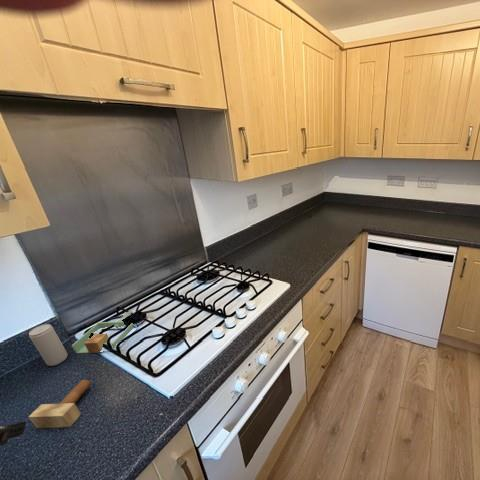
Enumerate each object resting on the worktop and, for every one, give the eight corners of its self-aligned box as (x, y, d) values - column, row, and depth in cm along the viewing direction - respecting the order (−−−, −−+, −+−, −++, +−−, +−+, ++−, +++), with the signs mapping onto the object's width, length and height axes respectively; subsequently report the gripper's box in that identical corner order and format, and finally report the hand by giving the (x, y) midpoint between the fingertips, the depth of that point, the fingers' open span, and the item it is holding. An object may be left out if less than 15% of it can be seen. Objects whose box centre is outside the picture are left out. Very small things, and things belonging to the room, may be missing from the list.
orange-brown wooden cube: (83, 343, 79) (94, 333, 82) (89, 353, 80) (99, 343, 84) (96, 342, 79) (106, 333, 82) (101, 352, 80) (111, 342, 84)
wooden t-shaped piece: (28, 417, 58) (67, 378, 68) (36, 428, 60) (74, 388, 69) (62, 415, 58) (97, 376, 67) (70, 427, 60) (103, 387, 69)
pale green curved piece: (116, 351, 81) (112, 343, 79) (75, 353, 81) (71, 345, 80) (150, 314, 97) (147, 307, 95) (116, 316, 97) (113, 309, 96)
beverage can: (60, 353, 81) (42, 323, 76) (73, 354, 80) (55, 324, 76) (43, 366, 77) (22, 335, 72) (56, 367, 76) (37, 336, 71)
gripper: (-72, 429, 37) (44, 404, 52) (-168, 433, 37) (-25, 407, 52) (-102, 498, 34) (30, 450, 49) (-206, 501, 34) (-43, 453, 49)
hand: (1, 428), depth 51 cm, fingers open, 8 cm apart
